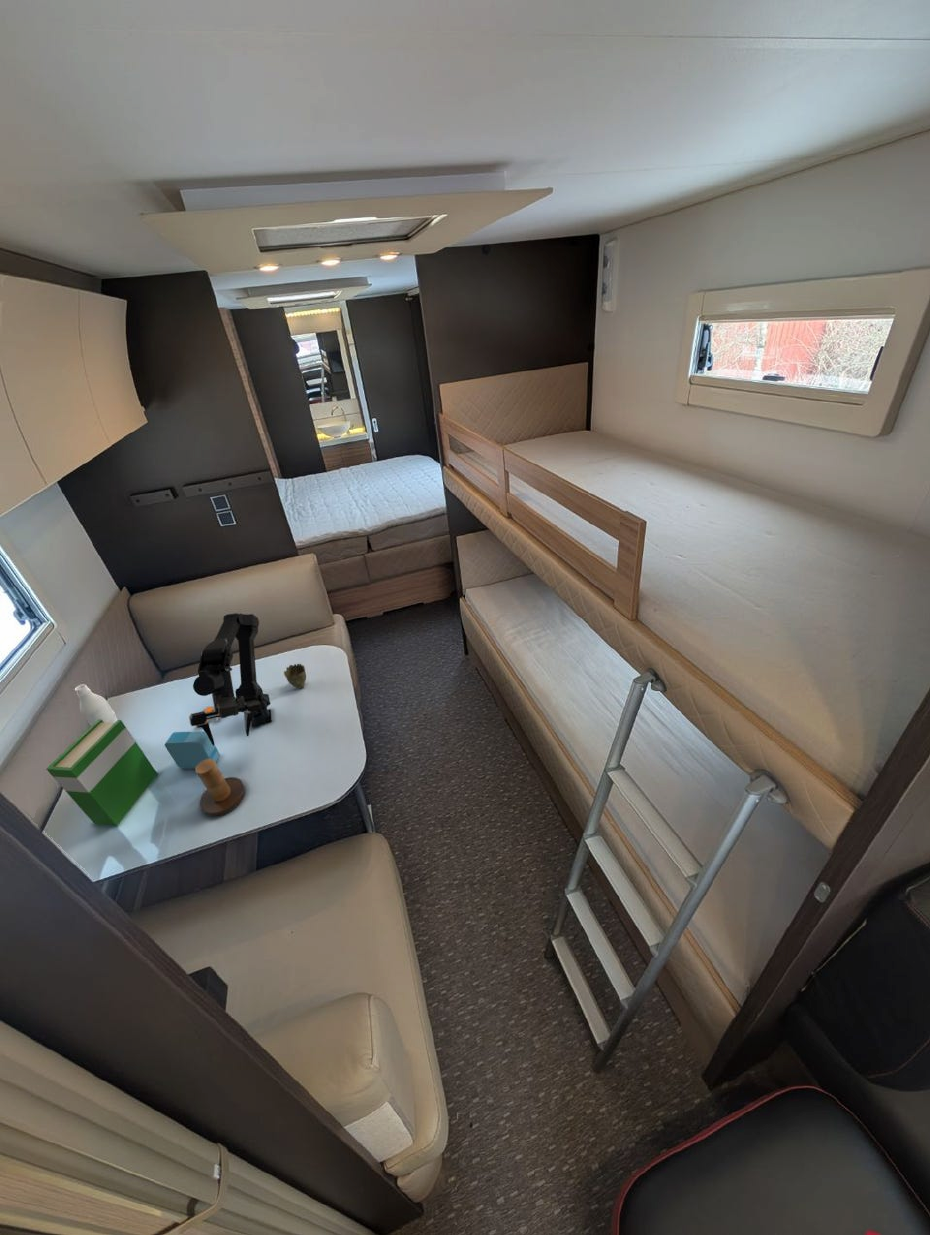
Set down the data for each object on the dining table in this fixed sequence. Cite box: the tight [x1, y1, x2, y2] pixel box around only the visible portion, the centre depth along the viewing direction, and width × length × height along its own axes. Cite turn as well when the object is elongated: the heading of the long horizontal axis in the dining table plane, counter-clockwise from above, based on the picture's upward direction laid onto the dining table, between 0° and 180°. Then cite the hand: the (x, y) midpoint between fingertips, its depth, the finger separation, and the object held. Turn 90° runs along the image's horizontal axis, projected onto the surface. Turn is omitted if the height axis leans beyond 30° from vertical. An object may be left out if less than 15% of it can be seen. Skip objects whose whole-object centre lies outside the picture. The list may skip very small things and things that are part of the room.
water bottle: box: [74, 683, 118, 727], centre depth 156 cm, size 7×7×25 cm
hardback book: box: [46, 719, 159, 827], centre depth 136 cm, size 18×7×24 cm, turn 172°
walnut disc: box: [199, 776, 247, 818], centre depth 139 cm, size 12×12×2 cm
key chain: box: [195, 706, 220, 730], centre depth 169 cm, size 13×7×1 cm, turn 2°
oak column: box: [194, 759, 231, 802], centre depth 135 cm, size 5×5×12 cm
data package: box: [164, 730, 221, 770], centre depth 148 cm, size 12×4×12 cm, turn 87°
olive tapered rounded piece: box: [283, 663, 307, 689], centre depth 177 cm, size 8×7×8 cm
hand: (230, 740), depth 141 cm, fingers open, 9 cm apart
